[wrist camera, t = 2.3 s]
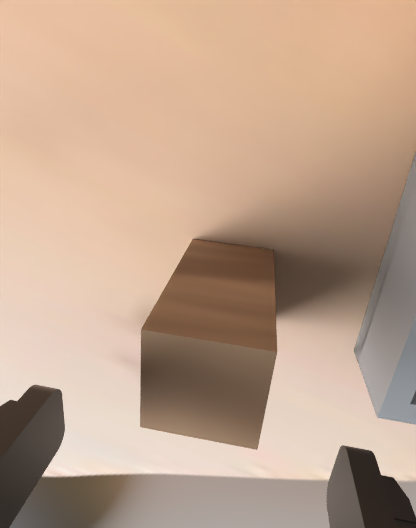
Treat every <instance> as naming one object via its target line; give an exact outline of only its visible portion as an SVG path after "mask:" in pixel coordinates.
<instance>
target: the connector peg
mask: <svg viewBox="0 0 416 528" xmlns="http://www.w3.org/2000/svg"><path fill="white" fill-rule="evenodd" d="M276 355H277V335H276V304H275V272H274V250H270V249H263V248H255V247H248V246H241V245H233V244H226V243H218V242H211V241H204V240H196V239H193V240H192V242H191V243H190V245H189V247H188V249H187V250H186V252H185V254H184V256H183V257H182V259H181V261H180V263H179V264H178V266H177V268H176V270H175V271H174V273H173V275H172V277H171V278H170V280H169V282H168V284H167V285H166V287H165V289H164V291H163V292H162V294H161V296H160V298H159V299H158V301H157V303H156V305H155V306H154V308H153V310H152V312H151V313H150V315H149V317H148V319H147V320H146V322H145V324H144V326H143V327H142V329H141V402H140V427H143V428H148V429H153V430H158V431H163V432H169V433H174V434H179V435H184V436H189V437H194V438H199V439H205V440H210V441H215V442H220V443H225V444H230V445H236V446H241V447H246V448H251V449H256V450H257V449H258V444H259V439H260V434H261V429H262V424H263V419H264V414H265V409H266V404H267V399H268V394H269V389H270V384H271V379H272V374H273V369H274V365H275V360H276Z"/></svg>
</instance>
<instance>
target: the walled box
mask: <svg viewBox="0 0 416 528" xmlns="http://www.w3.org/2000/svg"><path fill="white" fill-rule="evenodd" d="M354 352H355V355H356V358H357V361H358V364H359V367H360V369H361V372H362V375H363V378H364V381H365V384H366V387H367V389H368V392H369V395H370V398H371V401H372V404H373V407H374V410H375V412H376V415H377V418H382V419H388V420H394V421H399V422H405V423H410V424H416V153H415V156H414V159H413V162H412V166H411V169H410V172H409V175H408V179H407V182H406V185H405V188H404V191H403V195H402V198H401V201H400V204H399V207H398V211H397V214H396V217H395V220H394V224H393V227H392V230H391V233H390V236H389V240H388V243H387V246H386V249H385V253H384V256H383V259H382V262H381V265H380V269H379V272H378V275H377V278H376V281H375V285H374V288H373V291H372V294H371V298H370V301H369V304H368V307H367V310H366V314H365V317H364V320H363V323H362V326H361V330H360V333H359V336H358V339H357V343H356V346H355V349H354Z"/></svg>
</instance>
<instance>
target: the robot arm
mask: <svg viewBox="0 0 416 528" xmlns="http://www.w3.org/2000/svg"><path fill="white" fill-rule="evenodd" d="M64 431H65V424H64V412H63V401H62V393H61V391H60V390H59V389H55V388H49V387H44V386H39V385H33V386H31V387H30V388H29V389H28V390H27V391H26V392H25V393H24V394H23V396H22V397H21V398H20V399H19V400H18V401H13V400H10V401H8V402H6V403H5V404H3V405H2V406H0V528H9V527H10V525H11V524H12V522H13V521H14V519H15V517H16V516H17V514H18V513H19V511H20V510H21V508H22V506H23V505H24V503H25V501H26V500H27V498H28V497H29V495H30V494H31V492H32V491H33V488H34V487H35V486H36V484H37V483H38V481H39V479H40V478H41V476H42V475H43V473H44V471H45V470H46V468H47V467H48V465H49V463H50V462H51V460H52V459H53V457H54V456H55V454H56V452H57V451H58V449H59V447H60V445H61V442H62V439H63V436H64ZM327 510H328V516H329V523H330V528H416V517H415V514H414V511H413V509H412V506H411V503H410V500H409V498H408V497H407V496H406V494H405V493H404V492H403V490H402V489H401V488H400V486H399V485H398V483H397V482H396V481H395V479H394V478H392V477H387V476H382V475H381V474H380V471H379V467H378V464H377V461H376V458H375V455H374V453H373V452H372V451H369V450H364V449H359V448H354V447H348V446H341V447H340V449H339V452H338V455H337V458H336V461H335V464H334V467H333V470H332V473H331V476H330V479H329V483H328V488H327Z"/></svg>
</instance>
